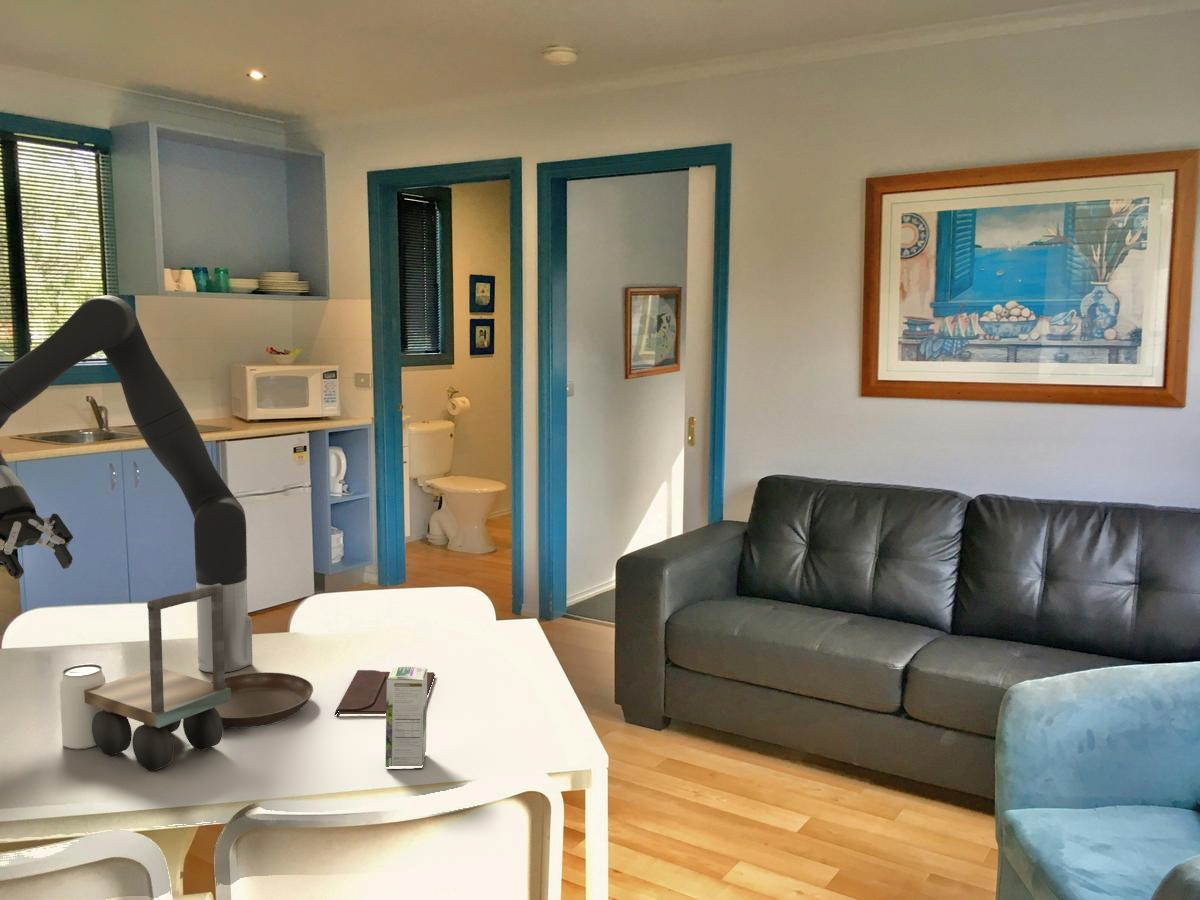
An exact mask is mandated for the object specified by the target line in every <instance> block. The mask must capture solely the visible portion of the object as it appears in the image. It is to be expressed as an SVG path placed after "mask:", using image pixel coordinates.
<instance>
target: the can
mask: <svg viewBox="0 0 1200 900" xmlns="http://www.w3.org/2000/svg"><path fill="white" fill-rule="evenodd" d="M102 669H103V667H102V666H101V665H99V664H95V663H84V664H77V665H72V666H70V667H67V668H65V669H63V670H62V672H61V673H62V676H61V678H60V681H59V695H60V696H59V697H60V699H59V700H60V718H61V719H60V721H61V722H60V723H61V736H62V737H61V739H62V745H63V746H64V747H65V748H66V747H67V748H66V749H69V748H70V749H69V750H74V749H81V750H87V749H91V748H97V745H96V743H95V740H94V738H93V733H92V721H93V718H94V716H95V715H96V713H98V712H100V711H103V709H102V708H99V707H96V706H93V705H90V704H87V703H85V696H84V690H87V689H90V688H93V687H97V686H100V685H103V684H106V675H105V674H104V672H103V670H102Z"/></svg>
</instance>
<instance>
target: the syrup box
mask: <svg viewBox="0 0 1200 900" xmlns="http://www.w3.org/2000/svg"><path fill="white" fill-rule="evenodd" d="M389 672H390V674H389V677H388V680H387V700H386V717H385V719H386V720H385V766H386V767H389V766H422V765H423V766H424V764H423V762H424V763H425V759H424V757H425V758H426V755H425V752H427V720H428V719H427V718H428V717H427V716H428V715H427V713H428V712H427V711H428V710H427V708H428V706H427V705H428V701H427V672H428V668H426V667H419V666H407V665H406V666H396V667H391V669H390V671H389Z"/></svg>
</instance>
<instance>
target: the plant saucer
mask: <svg viewBox="0 0 1200 900" xmlns="http://www.w3.org/2000/svg"><path fill="white" fill-rule="evenodd" d="M210 683H213V681H211V682H210ZM225 687H227V688H230V689H231V701H229V702H227V703H224V704H221V705H219V706H216V707H214V708H215V709H216V710H217V711H218V713H219V715H220V717H221V720H222V724H223V728H226V727H227V728H229V729H230V728H231V729H245V728H246V729H249V728H257V727H259V728H260V727H264V726H269V725H272V724H276V722H277V723H278V722H279V721H280V722H282V721H285V720H287V719H289V718H291V717H292V716H294V715H296V714H297V713H298V712H299V711H300V710H301V709H302V708H303V707H304V706H306V704H307V703H308V701H309V700H310V698H311V697H312V695H313V692H314V686H313V684H312V683H311V681H309V680H307V679H306V678H303V677H301V676H299V675H295V674H289V673H283V672H268V671H267V672H265V671H264V672H251V673H243V674H237V675H231V676H227V677H225Z"/></svg>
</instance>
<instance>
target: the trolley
mask: <svg viewBox="0 0 1200 900" xmlns="http://www.w3.org/2000/svg"><path fill="white" fill-rule="evenodd" d="M209 596H211V615H212V654H213V673H212V677H213V678H212V680H213V681H212V682H213V683H211V682H209V681H207V680H202V679H199V678H197V677H196V678H195V677H192V676H189V675H186V674H183V673H178V672H175V671H172V670H170V669H169V670H168V669H165V668H164V667H163V640H162V639H163V638H162V611H161V610H164V609H166V608H167V609H168V608H171V607H175V606H178V605H182V604H185V603H186V604H187V603H190V602H194V601H197V600H198V599H202V598H206V597H209ZM147 614H148V636H149V637H148V642H149V643H148V644H149V645H148V647H149V669H147V670H143V671H141V672H138V673H135V674H132V675H129V676H125V677H122V678H119V679H116V680H113V681H109V682H105V684H103V685H100V686H97V687H93V688H90V689H87V690H84V696H85V703H87V704H90V705H93V706H96V707H99V708H102V709H103V711H100V712H98V713H96V715H95V716H94V718H93V721H92V733H93V738H94V740H95V743H96V745H97V746H96V748H98V749H99V751H100V752H101V753H103V754H104V755H105V756H114V755H118V754H119V753H122V752H124V751H126V750H127V749H129V747H130V745H132V749H133V753H134V756H135V759H136V760H137V762H138V763H139V765H140V766H141V767H142V768H143V769H144V770H145V771H149V772H155V771H156V770H159V769H162V768H164V767H167V766H168V765H170V764H171V762H172V760H173V758H174V754H175V748H174V746H175V745H174V741H173V738H172V734H171V733H174V732H176V731H178V729H179V728H180V726H181V723H182V728H183V733H184V735H185V738H186V739H187V741H188V743H189V744H190V746H192V747H193V748H194V749H196V750H198V751H205V750H207V749H210V748H212V747H215V746H217V745H219V744H220V742H221V741H222V738H223V736H224V727H223V724H222V720H221V717H220V715H219V713H218V711H217V710H216V709H215V708H214V707H216V706H219V705H221V704H224V703H227V702H229V701H231V689H230V688H227V687H225V678H226V677H225V673H226V672H224V632H223V586H222V585H221V584H220V583H218V584H215V585H211V586H207V587H203V588H199V589H192V590H188V591H187V590H186V591H183V592H180V593H176V594H171V595H168V596H163V597H159V598H156V599H151V600H148V601H147ZM129 719H131V720H134V721H137V722H140V723H143V724H142V725H139V726H137V728H136V729H135V730H134V732H133V734H132V726H131V724H130V721H129ZM131 743H132V744H131Z"/></svg>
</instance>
